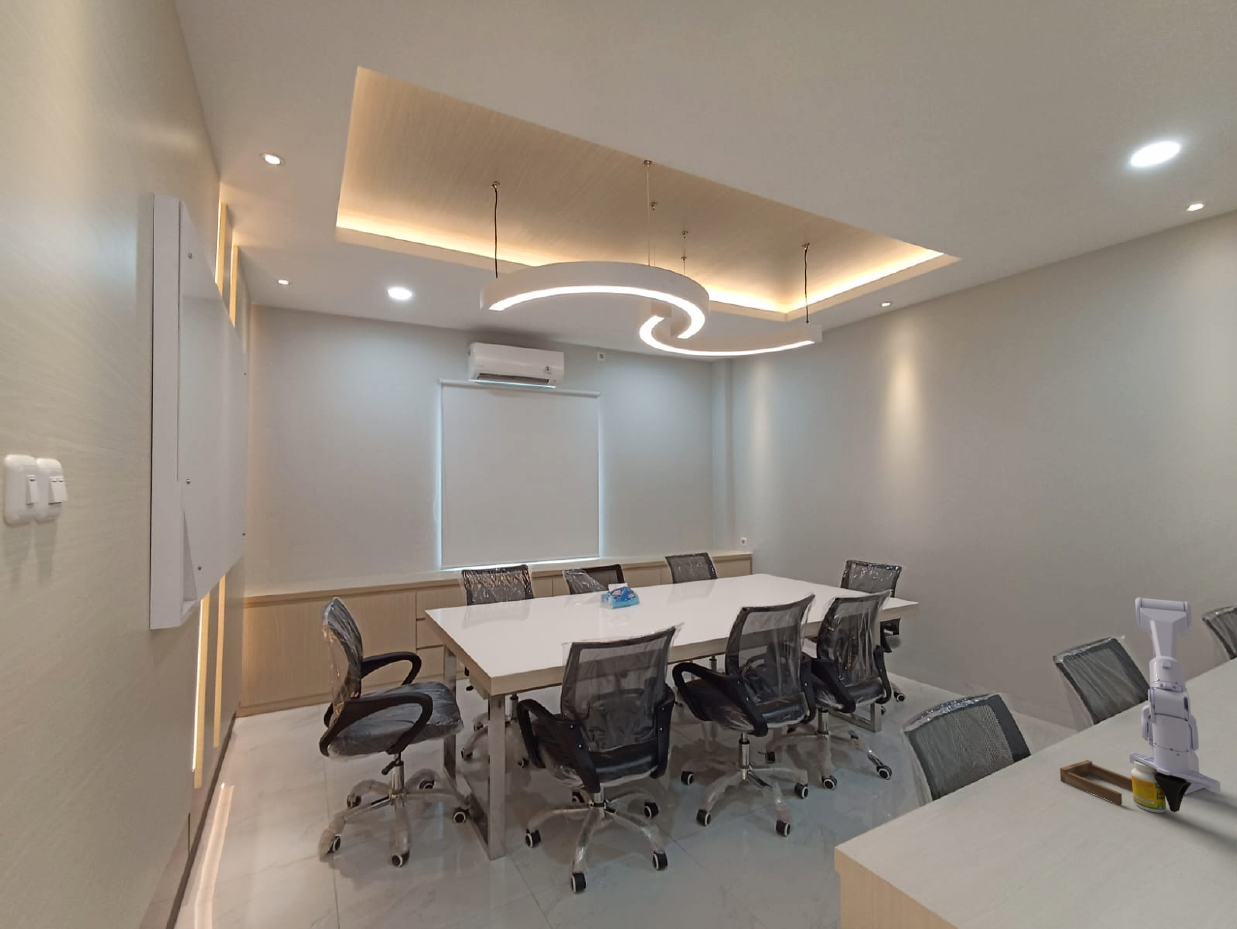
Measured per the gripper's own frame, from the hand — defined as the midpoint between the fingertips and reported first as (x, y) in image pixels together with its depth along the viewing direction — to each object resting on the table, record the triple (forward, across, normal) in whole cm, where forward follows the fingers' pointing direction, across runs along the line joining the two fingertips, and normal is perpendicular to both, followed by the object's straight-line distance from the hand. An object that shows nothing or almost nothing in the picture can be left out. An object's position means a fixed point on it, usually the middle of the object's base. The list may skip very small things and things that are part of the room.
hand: (1174, 810), depth 122 cm
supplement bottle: (+2, -4, 0) cm, 5 cm away
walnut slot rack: (+2, -13, 0) cm, 13 cm away
